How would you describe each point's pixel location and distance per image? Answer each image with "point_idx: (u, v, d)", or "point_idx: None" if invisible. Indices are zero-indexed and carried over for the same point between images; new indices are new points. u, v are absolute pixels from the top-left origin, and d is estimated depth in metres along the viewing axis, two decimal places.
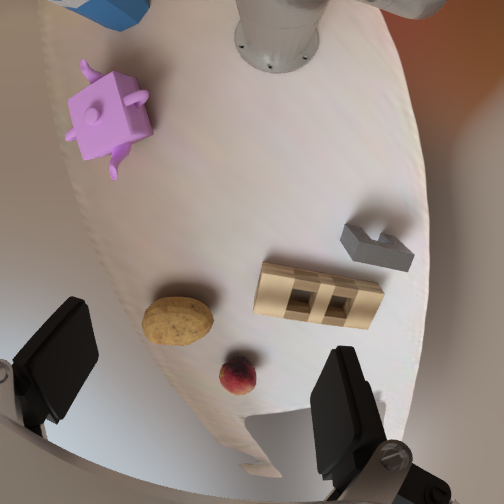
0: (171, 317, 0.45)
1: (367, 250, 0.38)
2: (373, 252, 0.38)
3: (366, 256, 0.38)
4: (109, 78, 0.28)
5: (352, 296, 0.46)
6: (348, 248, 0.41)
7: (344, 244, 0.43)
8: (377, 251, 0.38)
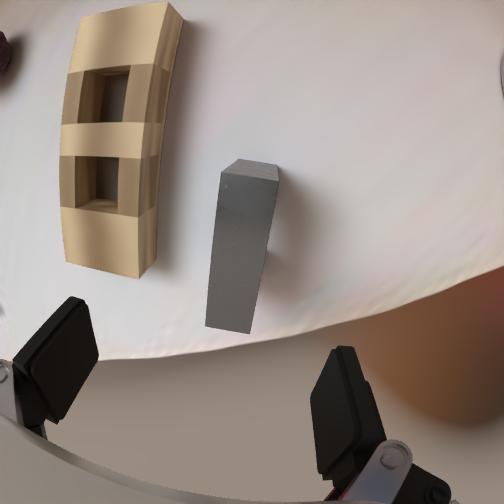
0: None
1: (254, 209, 0.15)
2: (249, 227, 0.15)
3: (236, 209, 0.15)
4: None
5: (121, 206, 0.19)
6: (239, 166, 0.17)
7: (239, 162, 0.19)
8: (253, 238, 0.15)
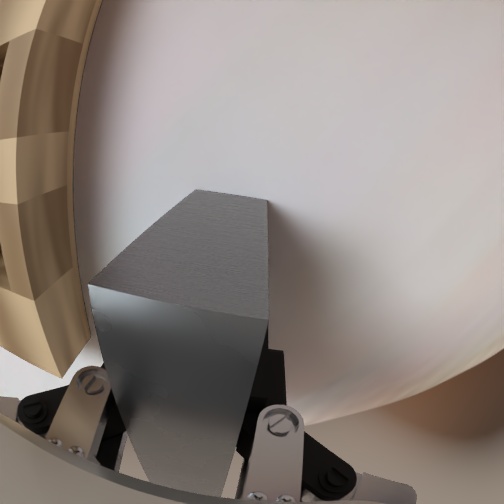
0: None
1: (197, 380, 0.05)
2: (192, 409, 0.05)
3: (151, 375, 0.05)
4: None
5: (12, 281, 0.09)
6: (173, 227, 0.07)
7: (187, 205, 0.09)
8: (204, 424, 0.05)
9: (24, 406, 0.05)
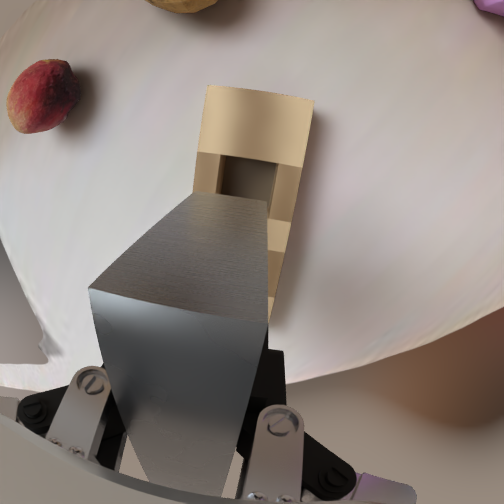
0: None
1: (197, 383, 0.05)
2: (192, 411, 0.05)
3: (151, 378, 0.05)
4: None
5: None
6: (173, 229, 0.07)
7: (187, 207, 0.09)
8: (204, 426, 0.05)
9: (23, 406, 0.05)
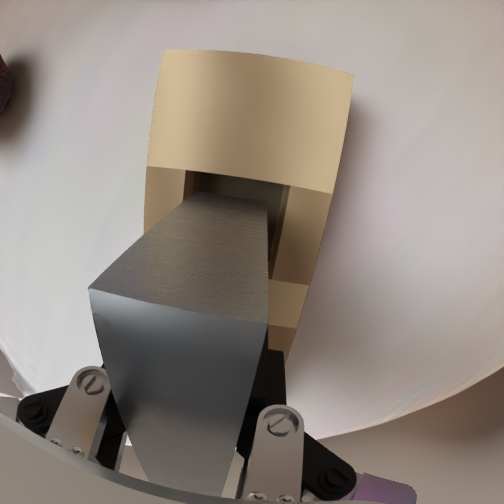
0: None
1: (197, 383, 0.05)
2: (192, 411, 0.05)
3: (151, 377, 0.05)
4: None
5: None
6: (173, 230, 0.07)
7: (187, 207, 0.09)
8: (204, 426, 0.05)
9: (23, 406, 0.05)
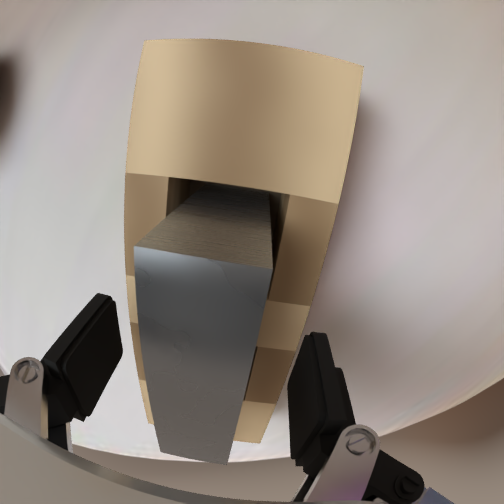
0: None
1: (216, 325, 0.06)
2: (209, 355, 0.07)
3: (178, 324, 0.06)
4: None
5: (252, 394, 0.14)
6: (193, 211, 0.09)
7: (201, 195, 0.11)
8: (218, 372, 0.07)
9: None
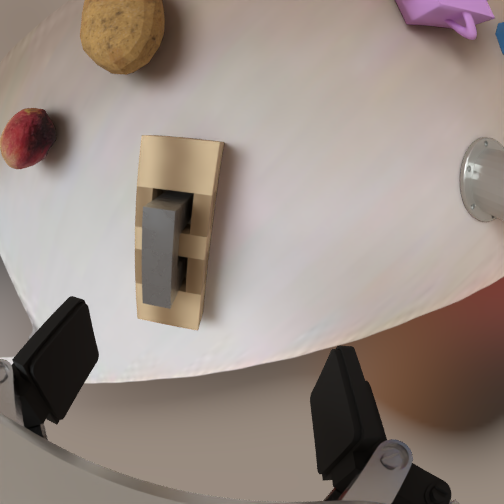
0: (136, 8, 0.17)
1: (163, 228, 0.24)
2: (161, 239, 0.24)
3: (153, 228, 0.24)
4: (488, 11, 0.12)
5: (188, 287, 0.31)
6: (160, 199, 0.26)
7: (165, 194, 0.28)
8: (164, 245, 0.24)
9: None
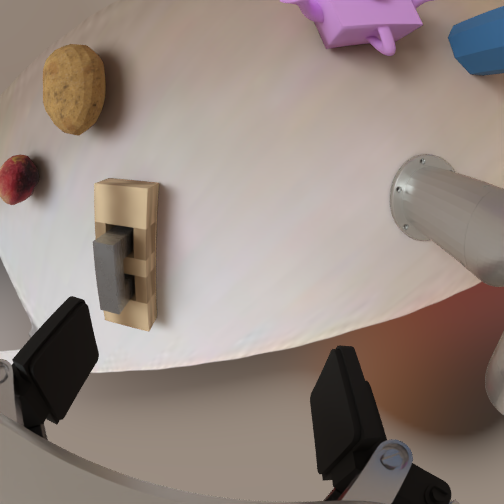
0: (78, 80, 0.24)
1: (107, 257, 0.30)
2: (106, 264, 0.31)
3: (100, 257, 0.31)
4: (414, 18, 0.17)
5: (138, 298, 0.38)
6: (109, 233, 0.33)
7: (115, 227, 0.35)
8: (109, 269, 0.31)
9: None
